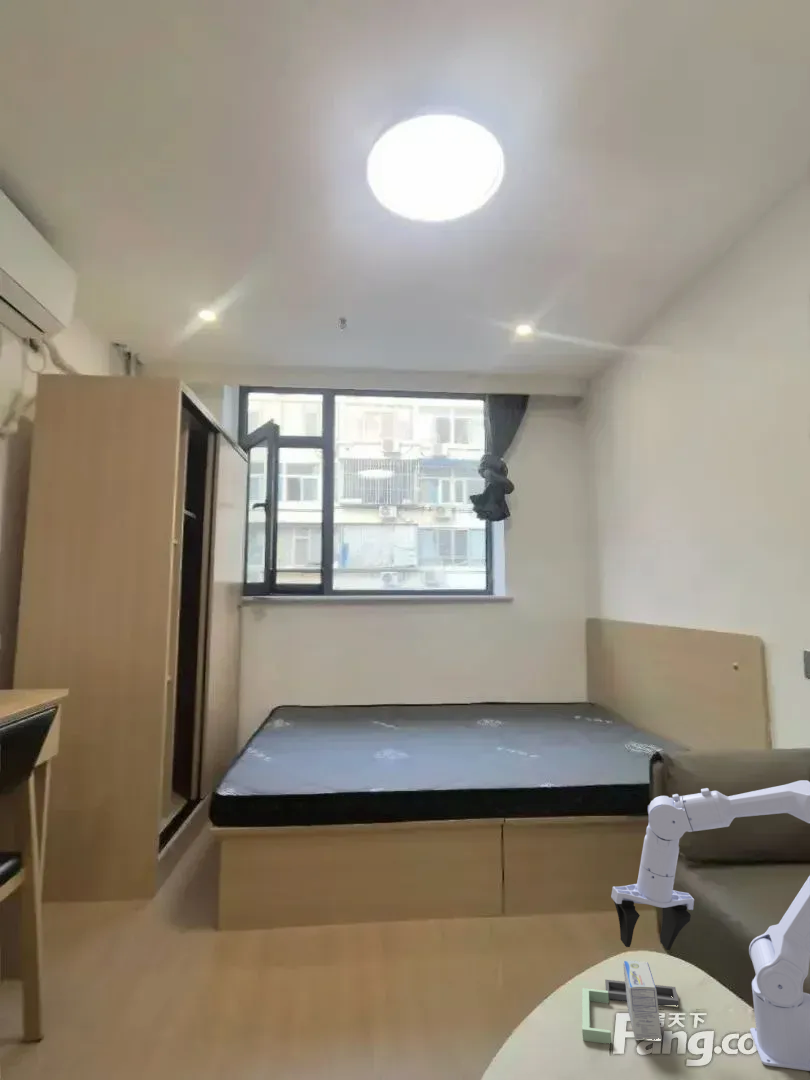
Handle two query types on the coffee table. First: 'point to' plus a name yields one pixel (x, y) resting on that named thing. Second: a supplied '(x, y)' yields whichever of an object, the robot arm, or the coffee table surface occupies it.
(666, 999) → the grey flat rectangular tray
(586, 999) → the mint green u-bracket
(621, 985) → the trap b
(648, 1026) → the medicine box
